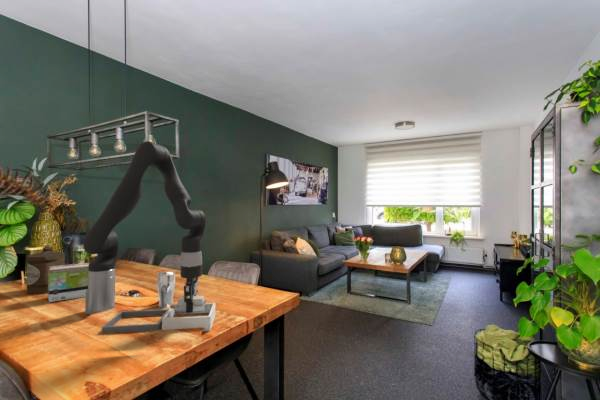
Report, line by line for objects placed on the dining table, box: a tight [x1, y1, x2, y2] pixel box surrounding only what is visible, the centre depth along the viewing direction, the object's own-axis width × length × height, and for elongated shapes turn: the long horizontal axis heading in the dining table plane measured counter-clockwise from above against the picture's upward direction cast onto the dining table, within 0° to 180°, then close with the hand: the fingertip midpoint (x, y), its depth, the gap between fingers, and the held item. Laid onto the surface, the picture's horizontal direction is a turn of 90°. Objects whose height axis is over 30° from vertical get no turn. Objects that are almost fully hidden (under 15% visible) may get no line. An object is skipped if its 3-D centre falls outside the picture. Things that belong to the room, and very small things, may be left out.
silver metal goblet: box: [156, 270, 176, 309], centre depth 125 cm, size 7×7×15 cm
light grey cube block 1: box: [177, 296, 190, 307], centre depth 109 cm, size 4×4×4 cm
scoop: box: [169, 300, 208, 315], centre depth 110 cm, size 12×6×2 cm, turn 99°
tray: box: [101, 308, 170, 334], centre depth 107 cm, size 18×15×3 cm
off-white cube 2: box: [193, 295, 205, 306], centre depth 110 cm, size 4×4×4 cm
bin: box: [161, 302, 216, 332], centre depth 110 cm, size 16×15×5 cm
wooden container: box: [26, 245, 66, 295], centre depth 150 cm, size 15×15×22 cm
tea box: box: [47, 262, 89, 303], centre depth 139 cm, size 15×10×15 cm
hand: (191, 308), depth 110 cm, fingers closed on scoop, 5 cm apart
